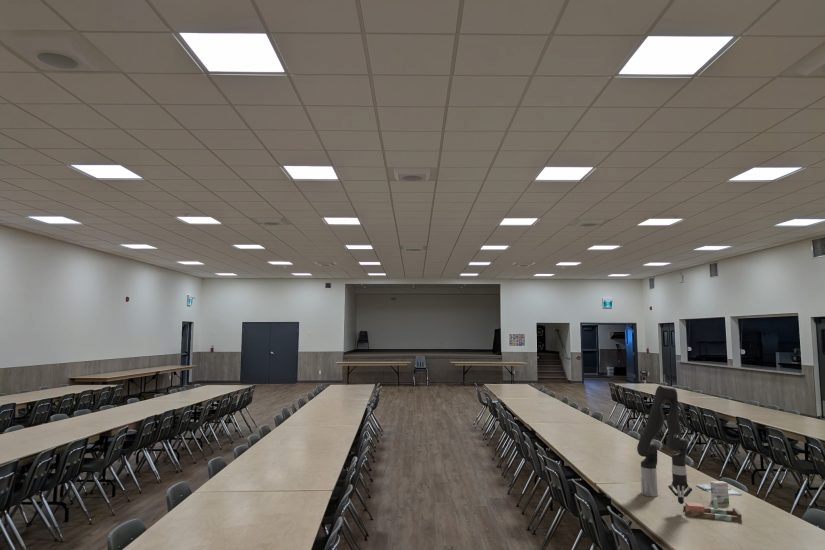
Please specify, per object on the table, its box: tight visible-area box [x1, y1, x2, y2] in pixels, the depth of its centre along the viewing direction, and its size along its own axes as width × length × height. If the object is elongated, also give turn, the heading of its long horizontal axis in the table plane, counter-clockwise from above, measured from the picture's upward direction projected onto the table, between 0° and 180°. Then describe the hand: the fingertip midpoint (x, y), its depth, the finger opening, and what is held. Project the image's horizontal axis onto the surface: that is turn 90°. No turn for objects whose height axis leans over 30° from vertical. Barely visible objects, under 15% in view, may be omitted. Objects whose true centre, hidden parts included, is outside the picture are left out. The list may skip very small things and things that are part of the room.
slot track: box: [682, 504, 743, 523], centre depth 284 cm, size 27×11×4 cm, turn 72°
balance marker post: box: [712, 498, 719, 509], centre depth 292 cm, size 2×2×7 cm
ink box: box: [709, 480, 730, 504], centre depth 309 cm, size 8×5×12 cm, turn 93°
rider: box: [684, 501, 705, 513], centre depth 287 cm, size 8×6×6 cm
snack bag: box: [695, 483, 742, 496], centre depth 330 cm, size 19×20×2 cm
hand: (681, 503), depth 289 cm, fingers closed
